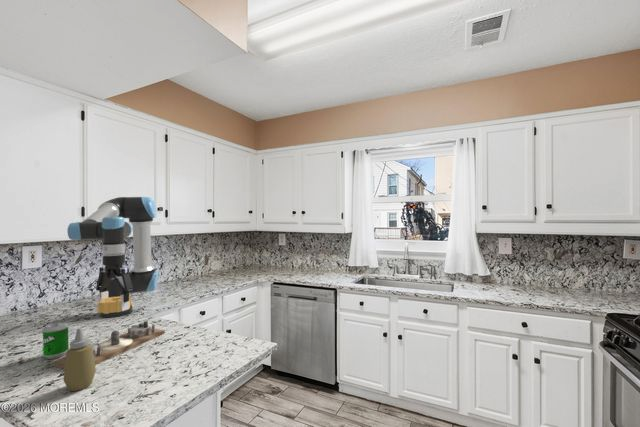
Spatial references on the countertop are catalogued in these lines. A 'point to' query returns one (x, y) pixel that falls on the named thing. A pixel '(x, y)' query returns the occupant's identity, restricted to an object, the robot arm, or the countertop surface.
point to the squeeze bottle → (79, 363)
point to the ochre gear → (111, 305)
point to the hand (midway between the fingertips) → (114, 308)
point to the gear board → (120, 342)
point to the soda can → (55, 340)
